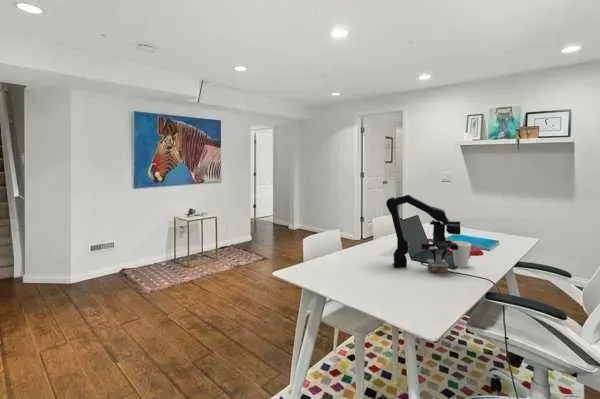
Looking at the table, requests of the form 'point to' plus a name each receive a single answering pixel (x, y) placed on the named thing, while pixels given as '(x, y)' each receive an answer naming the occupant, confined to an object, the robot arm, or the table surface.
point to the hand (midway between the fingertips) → (437, 261)
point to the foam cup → (461, 254)
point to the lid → (438, 261)
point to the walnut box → (438, 269)
